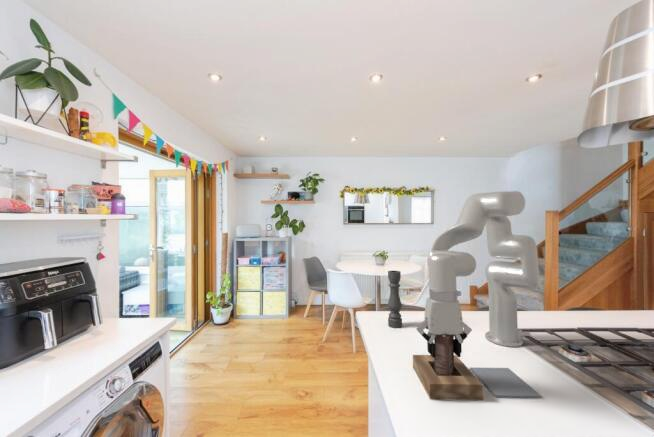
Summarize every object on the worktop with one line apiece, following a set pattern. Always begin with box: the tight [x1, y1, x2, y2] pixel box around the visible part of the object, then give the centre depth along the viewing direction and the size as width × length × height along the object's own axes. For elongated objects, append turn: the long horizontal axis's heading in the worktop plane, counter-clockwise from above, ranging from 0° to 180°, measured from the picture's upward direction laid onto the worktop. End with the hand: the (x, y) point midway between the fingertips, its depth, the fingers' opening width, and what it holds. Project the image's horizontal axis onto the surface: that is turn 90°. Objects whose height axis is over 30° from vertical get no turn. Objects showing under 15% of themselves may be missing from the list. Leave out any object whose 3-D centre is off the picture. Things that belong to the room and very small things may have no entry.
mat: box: [469, 367, 543, 399], centre depth 79 cm, size 12×14×1 cm
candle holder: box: [387, 270, 403, 329], centre depth 124 cm, size 6×6×25 cm
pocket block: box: [412, 354, 484, 401], centre depth 79 cm, size 14×16×4 cm
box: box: [433, 335, 455, 376], centre depth 80 cm, size 6×4×12 cm
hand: (444, 354), depth 80 cm, fingers closed on box, 6 cm apart
